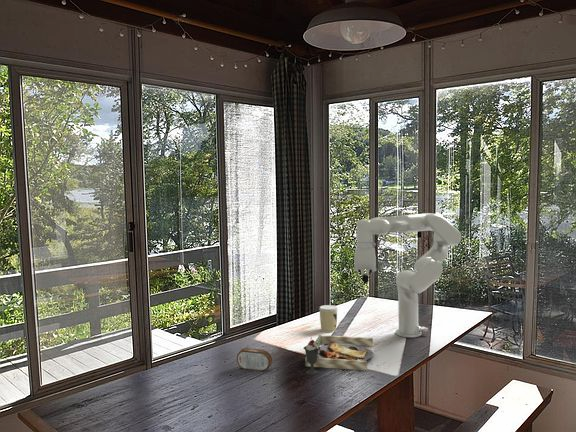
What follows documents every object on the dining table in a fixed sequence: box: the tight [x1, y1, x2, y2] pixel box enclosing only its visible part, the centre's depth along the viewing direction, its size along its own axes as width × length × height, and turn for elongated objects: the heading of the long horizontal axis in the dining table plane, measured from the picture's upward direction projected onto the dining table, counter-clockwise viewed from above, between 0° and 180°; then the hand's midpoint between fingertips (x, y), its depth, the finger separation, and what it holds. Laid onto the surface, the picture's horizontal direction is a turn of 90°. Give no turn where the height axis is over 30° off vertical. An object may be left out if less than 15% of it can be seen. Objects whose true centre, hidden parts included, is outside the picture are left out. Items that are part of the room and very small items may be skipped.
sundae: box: [303, 337, 321, 376], centre depth 193 cm, size 7×7×15 cm
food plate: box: [317, 342, 374, 361], centre depth 211 cm, size 25×23×4 cm
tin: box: [236, 347, 273, 372], centre depth 199 cm, size 15×3×8 cm, turn 71°
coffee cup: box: [318, 304, 338, 333], centre depth 250 cm, size 9×9×12 cm
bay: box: [304, 334, 374, 371], centre depth 213 cm, size 25×31×4 cm
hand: (365, 283), depth 234 cm, fingers closed
